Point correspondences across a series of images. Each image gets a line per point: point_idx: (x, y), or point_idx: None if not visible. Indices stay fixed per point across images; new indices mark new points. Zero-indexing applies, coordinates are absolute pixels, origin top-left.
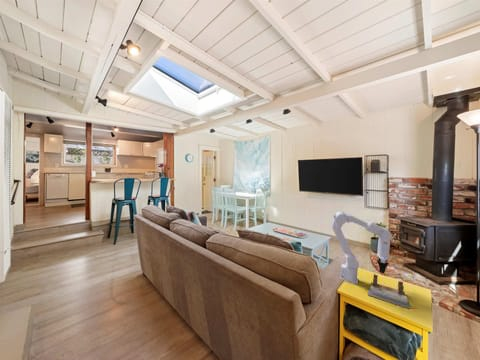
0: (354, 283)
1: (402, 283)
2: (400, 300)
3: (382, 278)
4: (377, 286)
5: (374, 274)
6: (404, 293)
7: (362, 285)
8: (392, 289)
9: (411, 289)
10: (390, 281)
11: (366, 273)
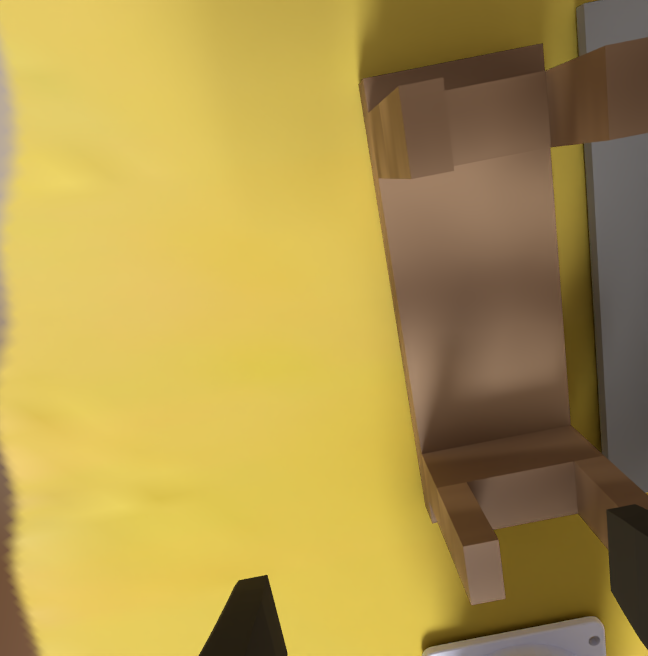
0: (604, 641)
1: (438, 89)
2: None
3: (76, 433)
4: (520, 428)
5: (480, 592)
6: (435, 68)
7: (559, 563)
8: (443, 244)
9: (63, 3)
10: (71, 324)
11: (121, 626)
